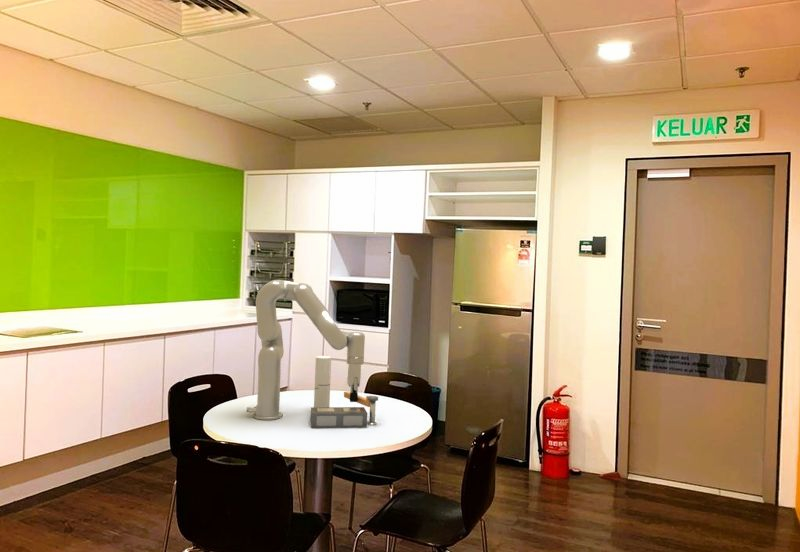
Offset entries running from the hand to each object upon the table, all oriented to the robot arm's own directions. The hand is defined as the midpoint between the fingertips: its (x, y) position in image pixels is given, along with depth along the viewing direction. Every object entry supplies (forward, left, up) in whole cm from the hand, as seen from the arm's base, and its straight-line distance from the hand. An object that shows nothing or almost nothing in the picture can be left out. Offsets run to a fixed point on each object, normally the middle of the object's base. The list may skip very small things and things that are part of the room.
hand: (353, 401), depth 267 cm
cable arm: (+3, 0, -1) cm, 3 cm away
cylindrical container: (-13, +14, -8) cm, 21 cm away
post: (+7, -10, -8) cm, 14 cm away
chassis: (-7, -10, -8) cm, 14 cm away
